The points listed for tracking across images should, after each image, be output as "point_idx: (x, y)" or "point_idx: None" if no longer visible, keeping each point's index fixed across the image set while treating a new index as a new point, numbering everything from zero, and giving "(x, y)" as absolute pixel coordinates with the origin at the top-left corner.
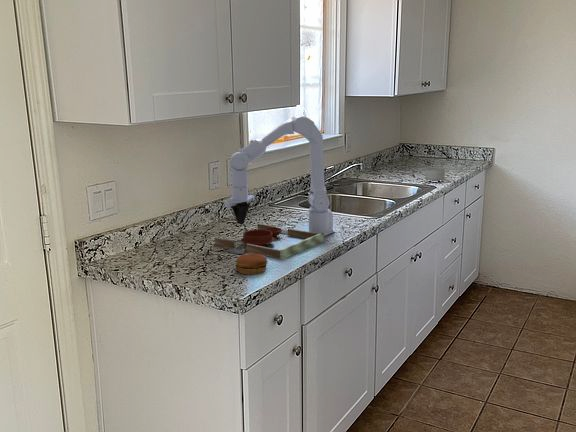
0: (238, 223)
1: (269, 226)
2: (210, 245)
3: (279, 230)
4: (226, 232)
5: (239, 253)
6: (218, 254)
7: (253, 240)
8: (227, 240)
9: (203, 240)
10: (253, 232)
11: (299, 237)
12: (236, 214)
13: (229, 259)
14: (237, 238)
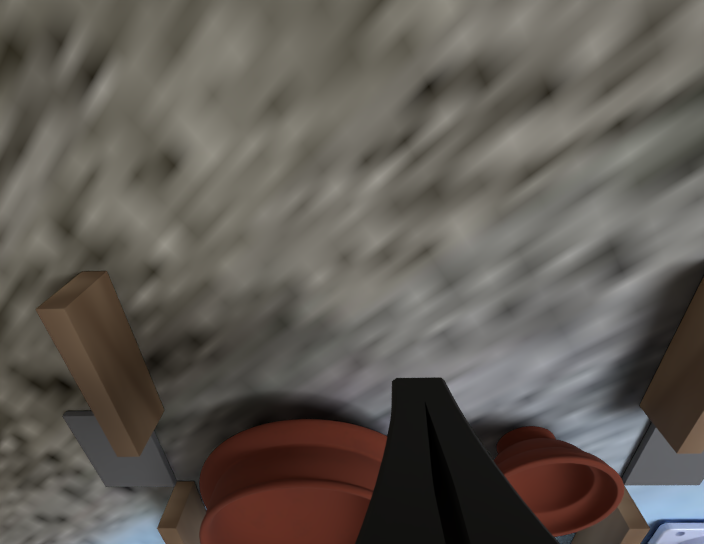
0: (392, 392)
1: (696, 412)
2: (43, 246)
3: (586, 502)
4: (510, 6)
5: (114, 485)
6: (3, 415)
7: (225, 541)
8: (102, 422)
9: (58, 44)
10: (365, 480)
11: (578, 531)
12: (394, 504)
13: (23, 490)
14: (364, 284)
